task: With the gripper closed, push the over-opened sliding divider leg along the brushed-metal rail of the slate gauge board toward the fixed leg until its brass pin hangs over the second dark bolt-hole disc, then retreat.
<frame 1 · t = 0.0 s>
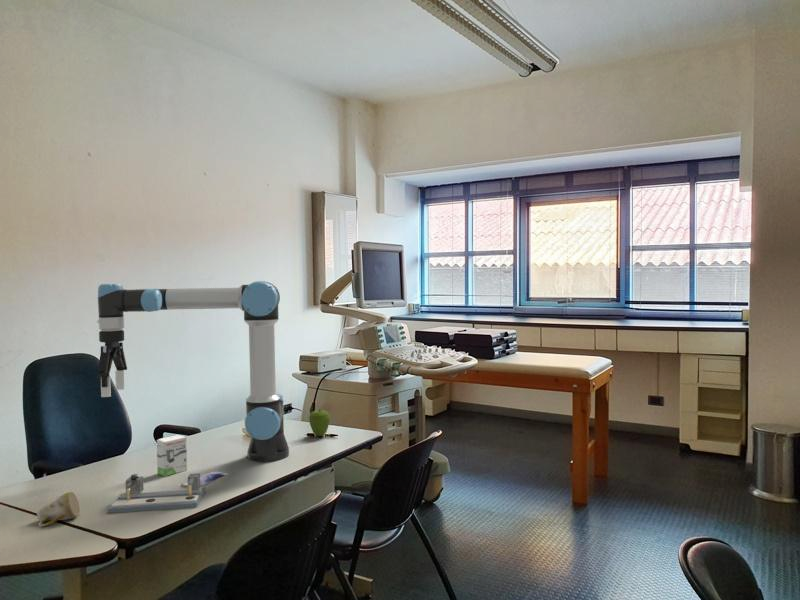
hand: (113, 393, 194), 28 cm above the table, fingers open, 13 cm apart
apple: (319, 436, 241), on the table
sliding leg: (132, 486, 169), point 5 cm above the table, slide at 0.0 cm
gauge board: (159, 501, 170), on the table
beige tapered chunky piece: (57, 521, 157), on the table
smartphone: (205, 482, 188), on the table
ink box: (172, 472, 197), on the table
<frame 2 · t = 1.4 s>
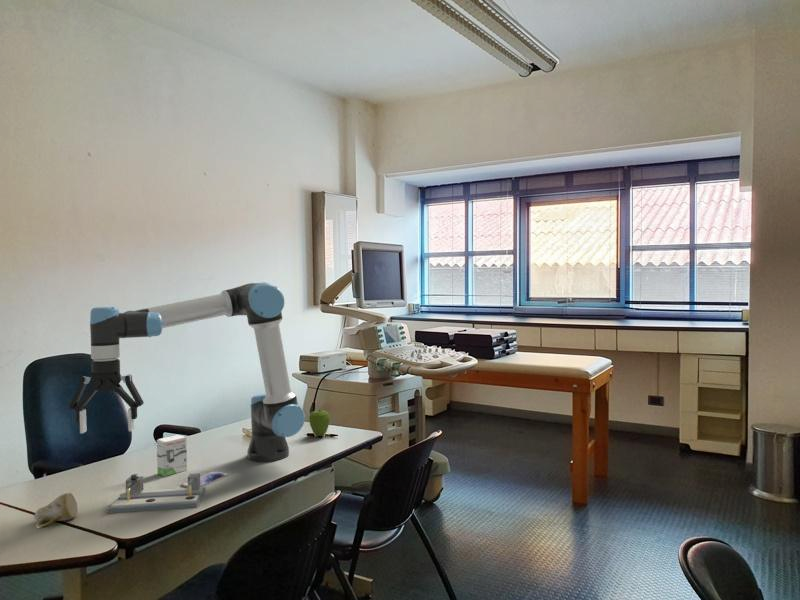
hand: (107, 431, 170), 21 cm above the table, fingers open, 13 cm apart
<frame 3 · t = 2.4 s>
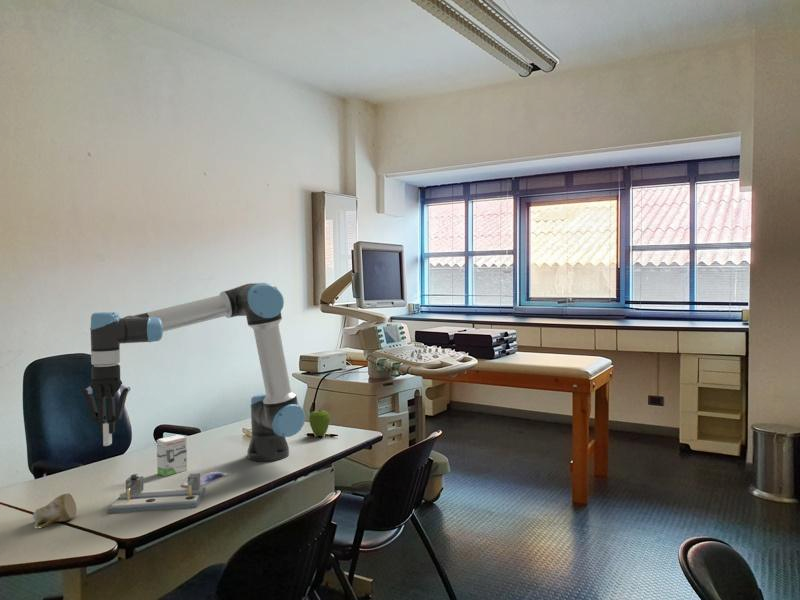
hand: (107, 444, 170), 17 cm above the table, fingers closed
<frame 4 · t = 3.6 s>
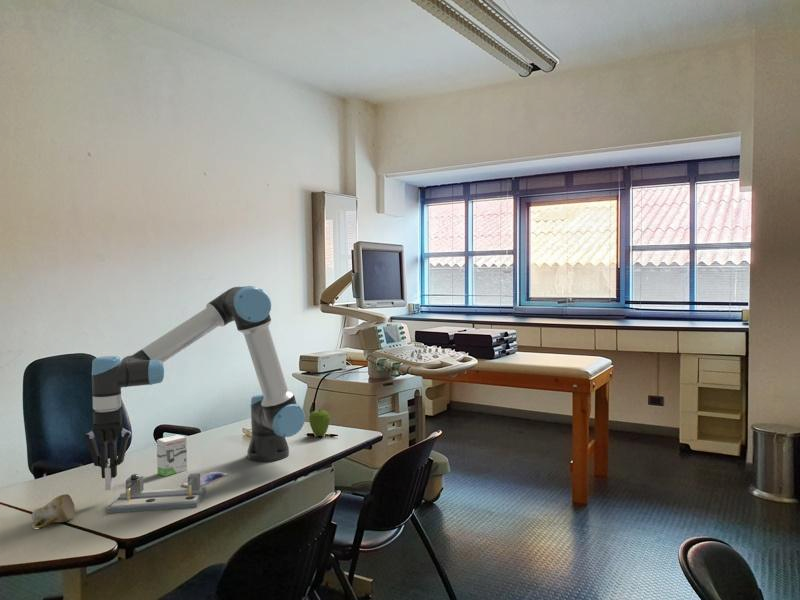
hand: (109, 488, 170), 4 cm above the table, fingers closed
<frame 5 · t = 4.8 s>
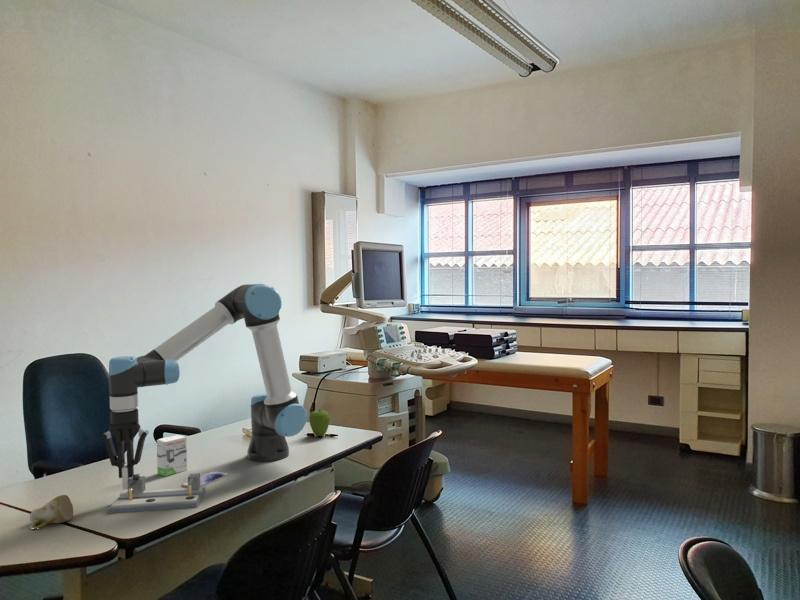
hand: (126, 488, 171), 4 cm above the table, fingers closed
sliding leg: (134, 486, 169), point 5 cm above the table, slide at 0.6 cm, touching gripper
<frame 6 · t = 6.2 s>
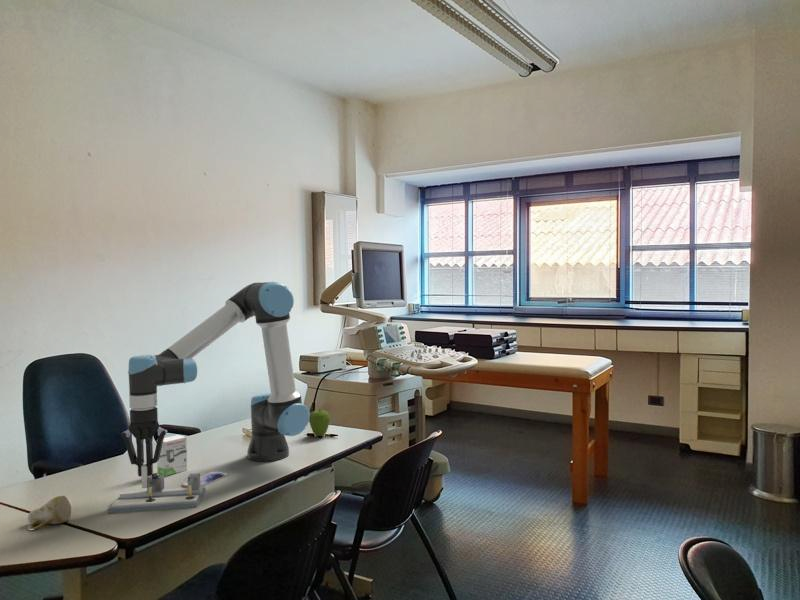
hand: (145, 486, 172), 4 cm above the table, fingers closed
sliding leg: (153, 485, 170), point 5 cm above the table, slide at 6.0 cm, touching gripper
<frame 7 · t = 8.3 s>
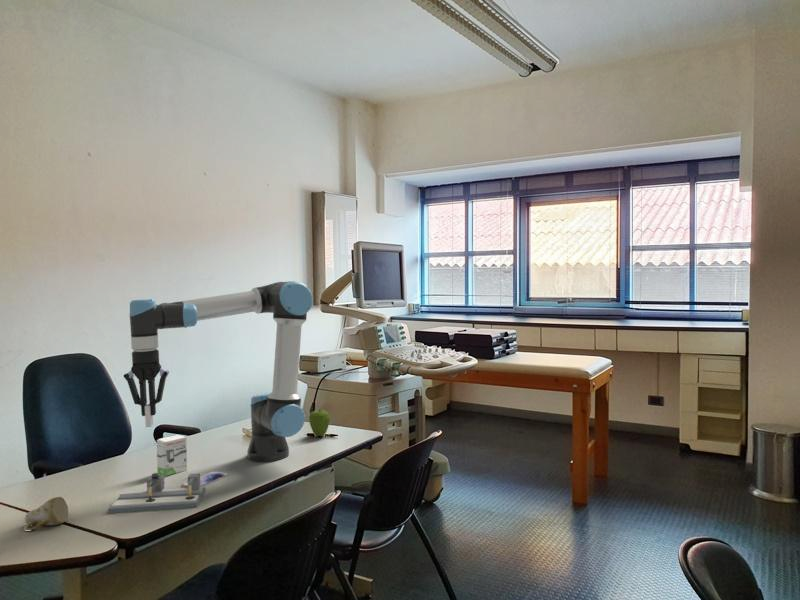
hand: (149, 425, 177), 21 cm above the table, fingers closed
sliding leg: (153, 485, 170), point 5 cm above the table, slide at 6.0 cm
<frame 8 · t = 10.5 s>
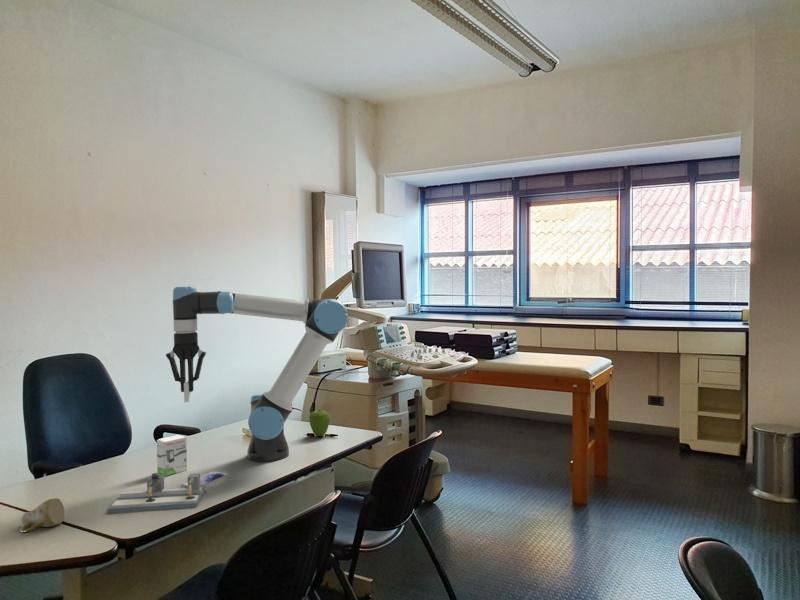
hand: (187, 401, 195), 24 cm above the table, fingers closed
at the end: sliding leg slide at 6.0 cm; sliding leg touching nothing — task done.
